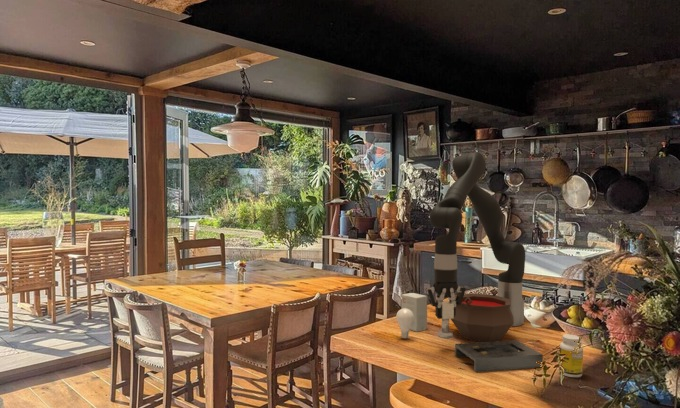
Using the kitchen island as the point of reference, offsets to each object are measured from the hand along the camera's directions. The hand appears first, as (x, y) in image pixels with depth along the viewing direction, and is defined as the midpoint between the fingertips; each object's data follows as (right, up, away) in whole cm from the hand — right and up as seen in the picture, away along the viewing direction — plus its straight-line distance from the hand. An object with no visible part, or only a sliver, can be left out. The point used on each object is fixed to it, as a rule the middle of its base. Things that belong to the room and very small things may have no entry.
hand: (445, 317), depth 156 cm
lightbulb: (-12, -11, +12) cm, 20 cm away
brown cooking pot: (+17, -11, +16) cm, 26 cm away
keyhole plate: (+14, -11, -10) cm, 21 cm away
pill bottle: (+32, -12, -20) cm, 40 cm away
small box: (-7, -11, +26) cm, 28 cm away
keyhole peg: (0, -6, 0) cm, 6 cm away
